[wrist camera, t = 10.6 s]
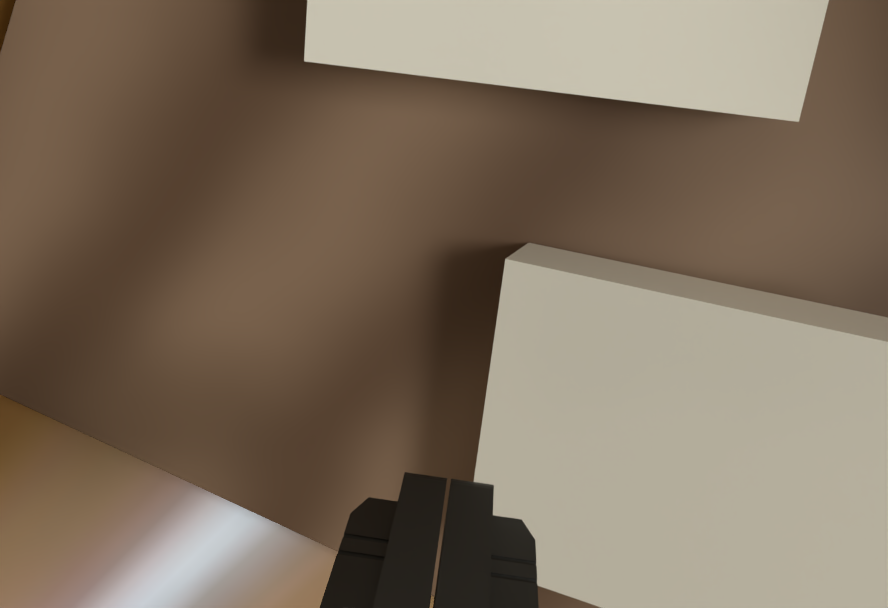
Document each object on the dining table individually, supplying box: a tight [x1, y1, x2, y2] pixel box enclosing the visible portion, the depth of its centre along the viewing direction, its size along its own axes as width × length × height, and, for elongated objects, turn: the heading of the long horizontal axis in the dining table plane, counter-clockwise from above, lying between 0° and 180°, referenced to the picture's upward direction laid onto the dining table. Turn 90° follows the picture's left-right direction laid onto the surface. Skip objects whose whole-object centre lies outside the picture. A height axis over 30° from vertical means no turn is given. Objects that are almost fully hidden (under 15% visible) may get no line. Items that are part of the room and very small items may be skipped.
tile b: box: [474, 243, 888, 608], centre depth 17 cm, size 2×7×9 cm
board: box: [0, 0, 888, 608], centre depth 18 cm, size 21×19×1 cm
